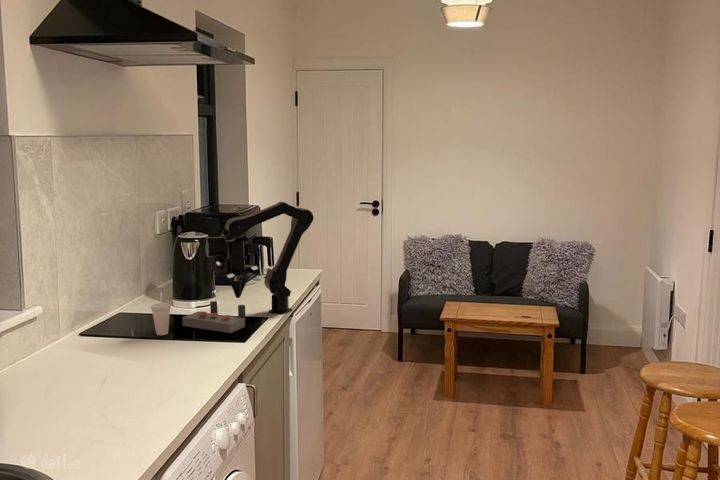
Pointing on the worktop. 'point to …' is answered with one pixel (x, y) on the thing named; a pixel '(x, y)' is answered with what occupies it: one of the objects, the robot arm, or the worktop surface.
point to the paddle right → (225, 316)
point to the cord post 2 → (241, 311)
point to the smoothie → (161, 316)
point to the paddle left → (201, 313)
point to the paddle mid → (213, 315)
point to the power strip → (213, 322)
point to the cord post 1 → (213, 307)
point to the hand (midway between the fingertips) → (238, 297)
